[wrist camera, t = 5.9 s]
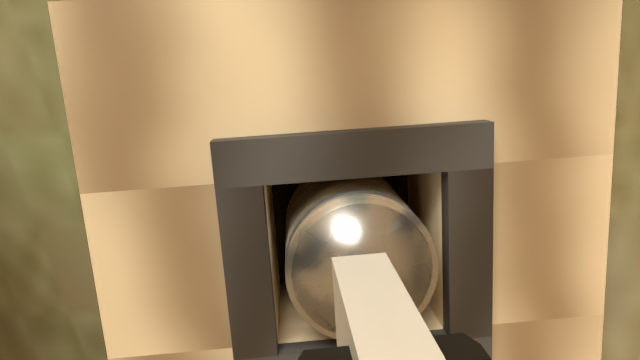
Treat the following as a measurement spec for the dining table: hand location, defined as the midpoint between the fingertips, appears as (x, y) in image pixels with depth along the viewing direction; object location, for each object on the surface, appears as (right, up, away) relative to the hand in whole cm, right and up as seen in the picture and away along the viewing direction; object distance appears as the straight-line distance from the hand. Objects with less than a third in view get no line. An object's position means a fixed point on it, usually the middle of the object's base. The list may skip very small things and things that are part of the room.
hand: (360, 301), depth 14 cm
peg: (0, +2, +8) cm, 8 cm away
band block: (0, +2, +9) cm, 9 cm away
